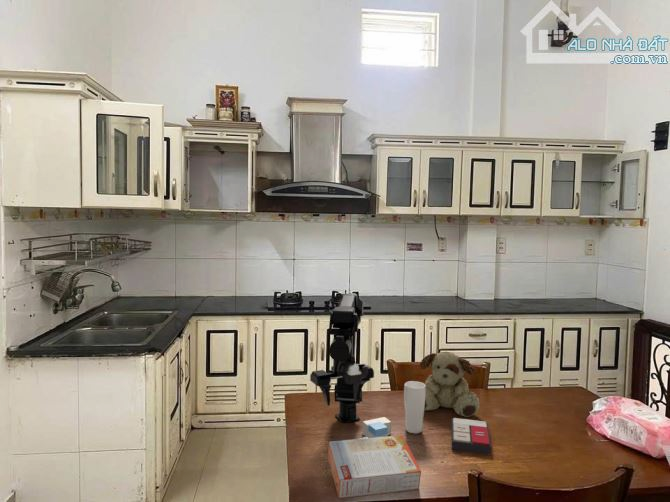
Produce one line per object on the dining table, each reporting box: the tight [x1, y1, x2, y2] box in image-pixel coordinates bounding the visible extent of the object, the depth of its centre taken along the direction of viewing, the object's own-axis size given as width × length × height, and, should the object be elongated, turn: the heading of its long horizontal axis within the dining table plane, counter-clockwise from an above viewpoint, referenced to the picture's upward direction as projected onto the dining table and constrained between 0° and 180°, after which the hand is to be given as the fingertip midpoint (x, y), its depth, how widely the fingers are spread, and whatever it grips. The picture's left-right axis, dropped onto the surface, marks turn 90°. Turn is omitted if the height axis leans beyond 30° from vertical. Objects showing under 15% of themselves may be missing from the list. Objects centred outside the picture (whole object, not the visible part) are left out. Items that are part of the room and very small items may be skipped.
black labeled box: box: [450, 417, 492, 456], centre depth 138 cm, size 11×4×15 cm
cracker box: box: [327, 434, 422, 499], centre depth 116 cm, size 14×6×21 cm
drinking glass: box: [403, 380, 426, 434], centre depth 144 cm, size 7×7×15 cm
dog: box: [418, 351, 480, 418], centre depth 164 cm, size 23×19×20 cm
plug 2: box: [368, 422, 389, 438], centre depth 130 cm, size 5×4×8 cm
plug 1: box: [362, 416, 392, 437], centre depth 142 cm, size 4×8×4 cm, turn 116°
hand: (342, 402), depth 135 cm, fingers open, 9 cm apart
